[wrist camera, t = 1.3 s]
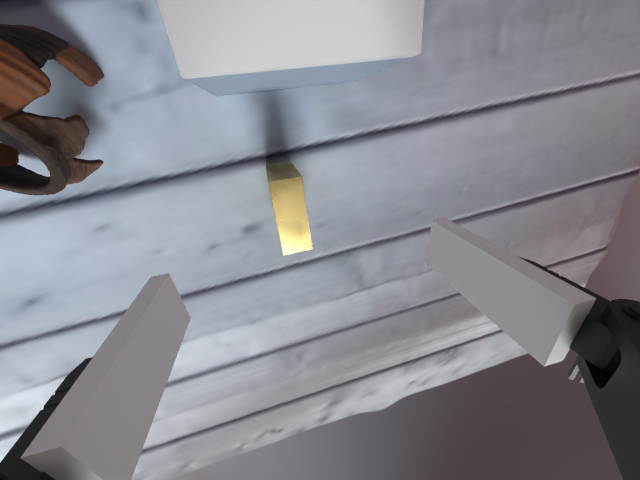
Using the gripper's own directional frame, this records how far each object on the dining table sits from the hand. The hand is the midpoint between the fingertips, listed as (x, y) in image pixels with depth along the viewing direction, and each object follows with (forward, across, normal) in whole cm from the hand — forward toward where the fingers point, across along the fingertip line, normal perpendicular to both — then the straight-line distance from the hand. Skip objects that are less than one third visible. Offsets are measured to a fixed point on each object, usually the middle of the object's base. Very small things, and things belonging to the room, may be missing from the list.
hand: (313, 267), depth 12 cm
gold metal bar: (+14, 0, 0) cm, 14 cm away
